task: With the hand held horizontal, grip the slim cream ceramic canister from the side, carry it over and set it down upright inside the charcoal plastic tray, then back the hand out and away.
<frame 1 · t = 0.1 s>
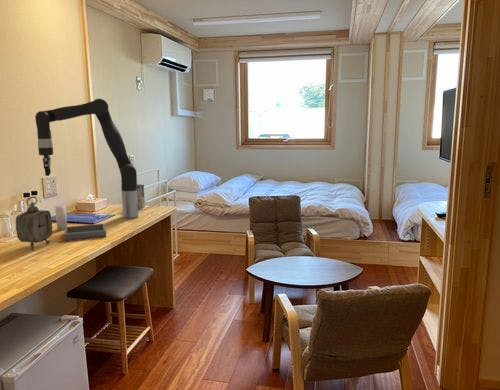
hand: (48, 174, 237), 29 cm above the table, tool pointing down, fingers open, 8 cm apart
coffee box: (138, 208, 283), on the table
tabletop clock: (35, 247, 200), on the table
canister: (62, 229, 231), on the table
tray: (85, 235, 220), on the table
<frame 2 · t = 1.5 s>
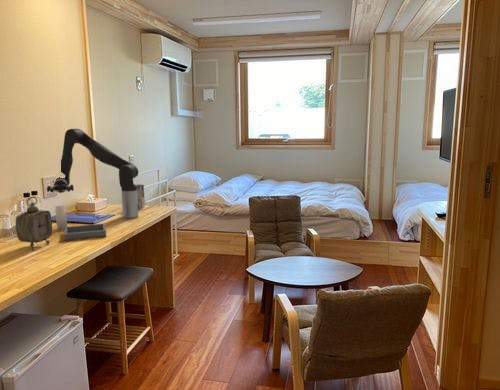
hand: (60, 190, 236), 20 cm above the table, tool horizontal, fingers open, 8 cm apart
nothing on the table moved.
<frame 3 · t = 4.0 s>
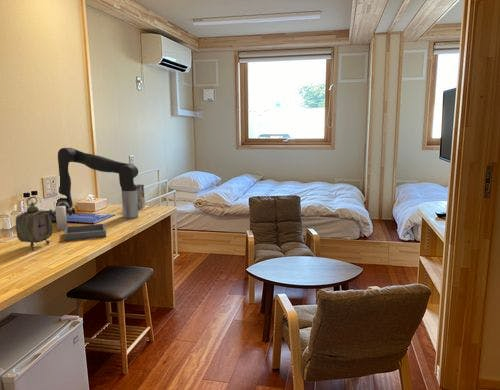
hand: (61, 214, 235), 7 cm above the table, tool horizontal, fingers open, 8 cm apart
nothing on the table moved.
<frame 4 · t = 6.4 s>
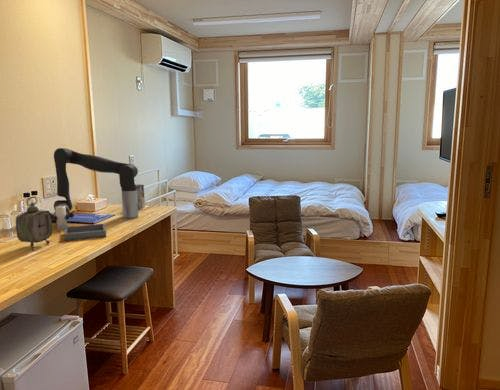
hand: (61, 218, 227), 7 cm above the table, tool horizontal, fingers closed on canister, 5 cm apart
canister: (62, 229, 231), on the table, touching gripper
everything else where it was.
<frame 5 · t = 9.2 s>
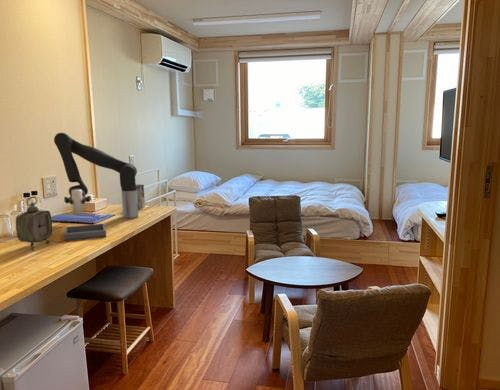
hand: (77, 202, 217), 18 cm above the table, tool horizontal, fingers closed on canister, 5 cm apart
canister: (78, 213, 220), point 11 cm above the table, touching gripper
everything else where it was.
when the fingers open (9 cm above the table, at t = 12.1 s): canister drops 1 cm, resting on tray.
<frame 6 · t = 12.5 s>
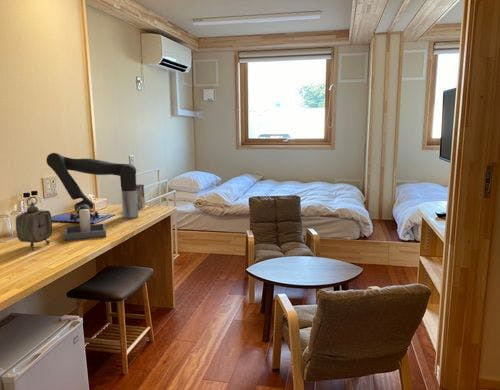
hand: (84, 219, 217), 9 cm above the table, tool horizontal, fingers open, 8 cm apart
canister: (85, 233, 220), point 1 cm above the table, touching tray
everything else where it was.
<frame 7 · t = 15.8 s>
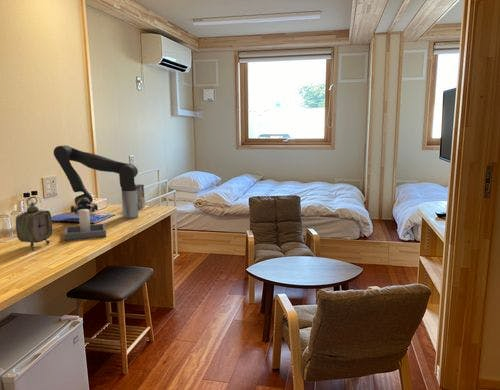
hand: (84, 210, 228), 11 cm above the table, tool horizontal, fingers open, 8 cm apart
nothing on the table moved.
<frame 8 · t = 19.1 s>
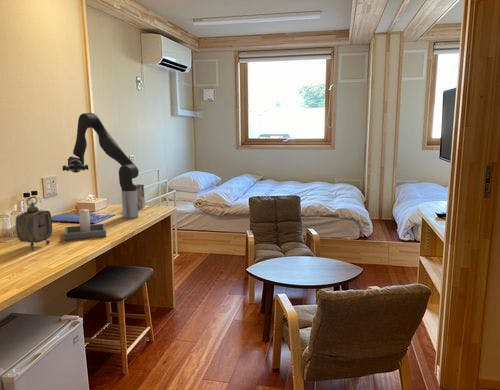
hand: (75, 169, 241), 32 cm above the table, tool horizontal, fingers open, 8 cm apart
nothing on the table moved.
at the end: canister inside the target area on the tray (0.0 cm from its centre), point 0.8 cm above the tray's base; canister tilted 0°; the gripper is holding nothing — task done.
